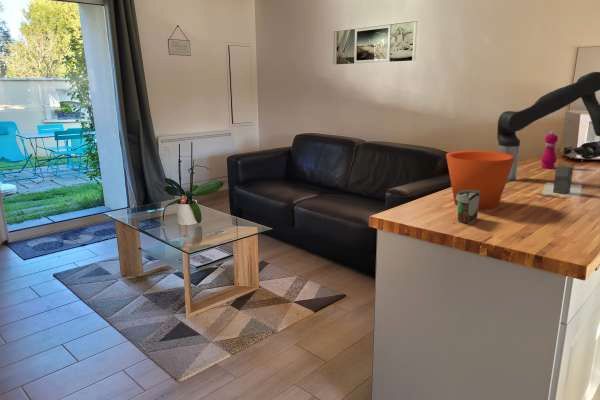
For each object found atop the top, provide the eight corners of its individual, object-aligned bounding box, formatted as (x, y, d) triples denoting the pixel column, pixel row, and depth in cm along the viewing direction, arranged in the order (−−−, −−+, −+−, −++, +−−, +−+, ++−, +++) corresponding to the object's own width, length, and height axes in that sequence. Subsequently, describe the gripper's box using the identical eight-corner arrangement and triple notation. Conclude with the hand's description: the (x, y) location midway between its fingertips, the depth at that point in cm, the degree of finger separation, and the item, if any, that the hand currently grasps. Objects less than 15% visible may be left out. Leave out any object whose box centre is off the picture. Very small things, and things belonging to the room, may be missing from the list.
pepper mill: (537, 167, 243) (541, 131, 238) (546, 166, 246) (550, 130, 241) (549, 169, 237) (554, 132, 232) (558, 168, 240) (563, 131, 235)
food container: (461, 214, 163) (463, 188, 161) (478, 217, 160) (480, 190, 157) (448, 222, 154) (450, 195, 152) (466, 226, 150) (468, 197, 148)
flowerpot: (489, 217, 159) (494, 163, 154) (430, 204, 178) (433, 155, 173) (521, 204, 174) (527, 154, 169) (464, 193, 193) (467, 148, 188)
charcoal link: (564, 194, 182) (567, 168, 179) (552, 192, 185) (556, 166, 183) (569, 192, 184) (573, 167, 182) (558, 190, 188) (561, 165, 185)
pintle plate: (580, 200, 177) (581, 190, 176) (540, 196, 185) (542, 186, 184) (581, 187, 197) (582, 178, 196) (546, 184, 204) (547, 175, 203)
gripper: (576, 140, 205) (559, 143, 196) (611, 143, 193) (594, 146, 185) (574, 156, 207) (556, 159, 198) (608, 160, 195) (591, 164, 186)
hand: (575, 153), depth 191 cm, fingers open, 8 cm apart
